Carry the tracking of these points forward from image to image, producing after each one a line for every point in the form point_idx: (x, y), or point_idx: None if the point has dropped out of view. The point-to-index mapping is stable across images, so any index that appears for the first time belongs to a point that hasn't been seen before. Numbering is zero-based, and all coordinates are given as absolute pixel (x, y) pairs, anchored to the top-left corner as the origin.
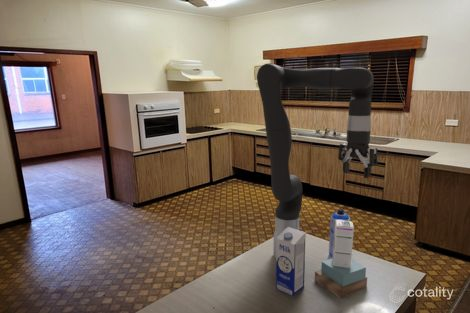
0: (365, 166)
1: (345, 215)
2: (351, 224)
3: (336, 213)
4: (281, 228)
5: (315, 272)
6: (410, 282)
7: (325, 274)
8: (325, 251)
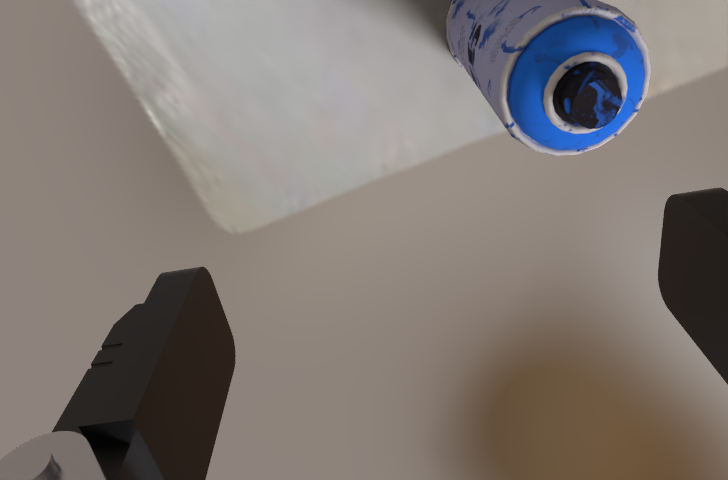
0: (68, 449)
1: (541, 110)
2: None
3: (606, 62)
4: None
5: None
6: (201, 171)
7: None
8: None
